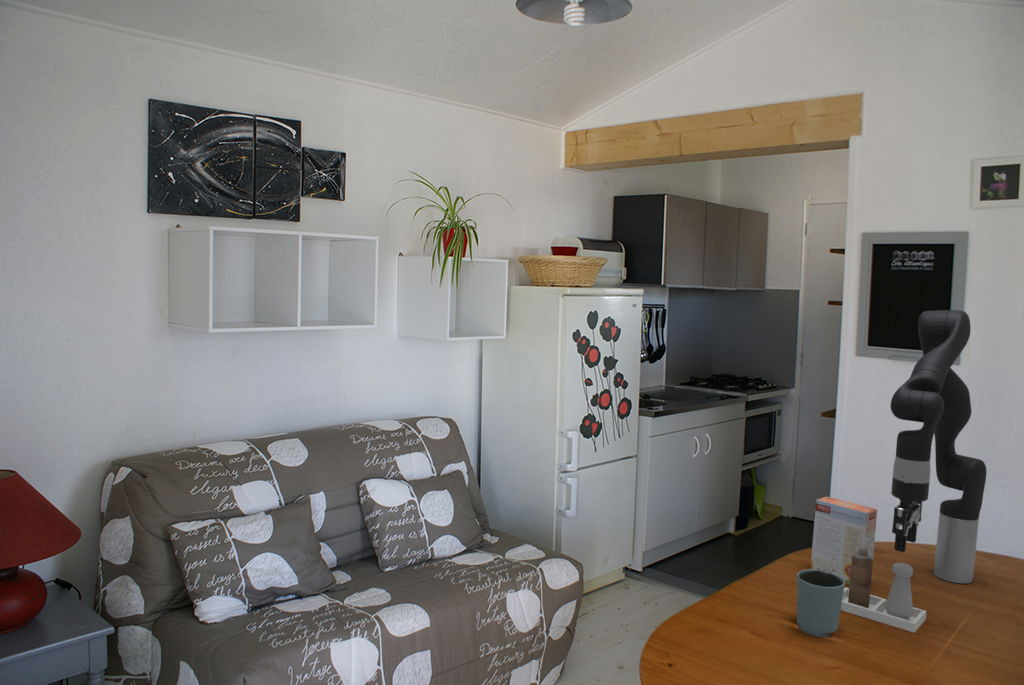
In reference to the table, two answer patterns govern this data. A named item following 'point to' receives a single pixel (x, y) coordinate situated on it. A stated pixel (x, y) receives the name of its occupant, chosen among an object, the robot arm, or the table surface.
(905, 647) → the table surface
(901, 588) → the salt shaker
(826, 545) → the cracker box
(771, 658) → the table surface
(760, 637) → the table surface
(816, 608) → the blue-grey cup
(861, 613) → the caddy
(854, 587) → the pepper mill
